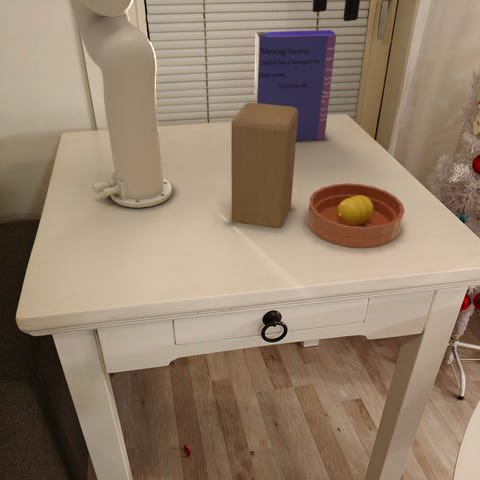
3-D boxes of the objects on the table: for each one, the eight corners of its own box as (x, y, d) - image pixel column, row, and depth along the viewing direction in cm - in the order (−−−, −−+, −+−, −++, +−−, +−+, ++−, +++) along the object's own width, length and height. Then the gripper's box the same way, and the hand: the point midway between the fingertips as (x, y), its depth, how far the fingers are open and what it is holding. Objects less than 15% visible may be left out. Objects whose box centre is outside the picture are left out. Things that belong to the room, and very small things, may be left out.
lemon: (345, 234, 99) (349, 209, 95) (328, 222, 102) (331, 197, 99) (377, 223, 102) (382, 199, 98) (359, 212, 105) (364, 187, 102)
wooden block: (291, 207, 108) (299, 105, 95) (281, 231, 100) (288, 125, 88) (243, 200, 110) (245, 100, 97) (230, 224, 102) (229, 119, 90)
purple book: (319, 132, 138) (330, 29, 123) (324, 140, 135) (336, 34, 119) (253, 135, 136) (255, 31, 121) (256, 143, 133) (259, 36, 117)
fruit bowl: (345, 260, 93) (349, 238, 90) (289, 217, 105) (290, 196, 102) (418, 234, 100) (424, 213, 97) (358, 196, 112) (361, 176, 109)
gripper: (300, -94, 101) (293, 10, 112) (362, -88, 89) (348, 26, 100) (331, -95, 104) (322, 6, 115) (395, -90, 92) (378, 21, 104)
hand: (334, 15), depth 108 cm, fingers open, 9 cm apart
